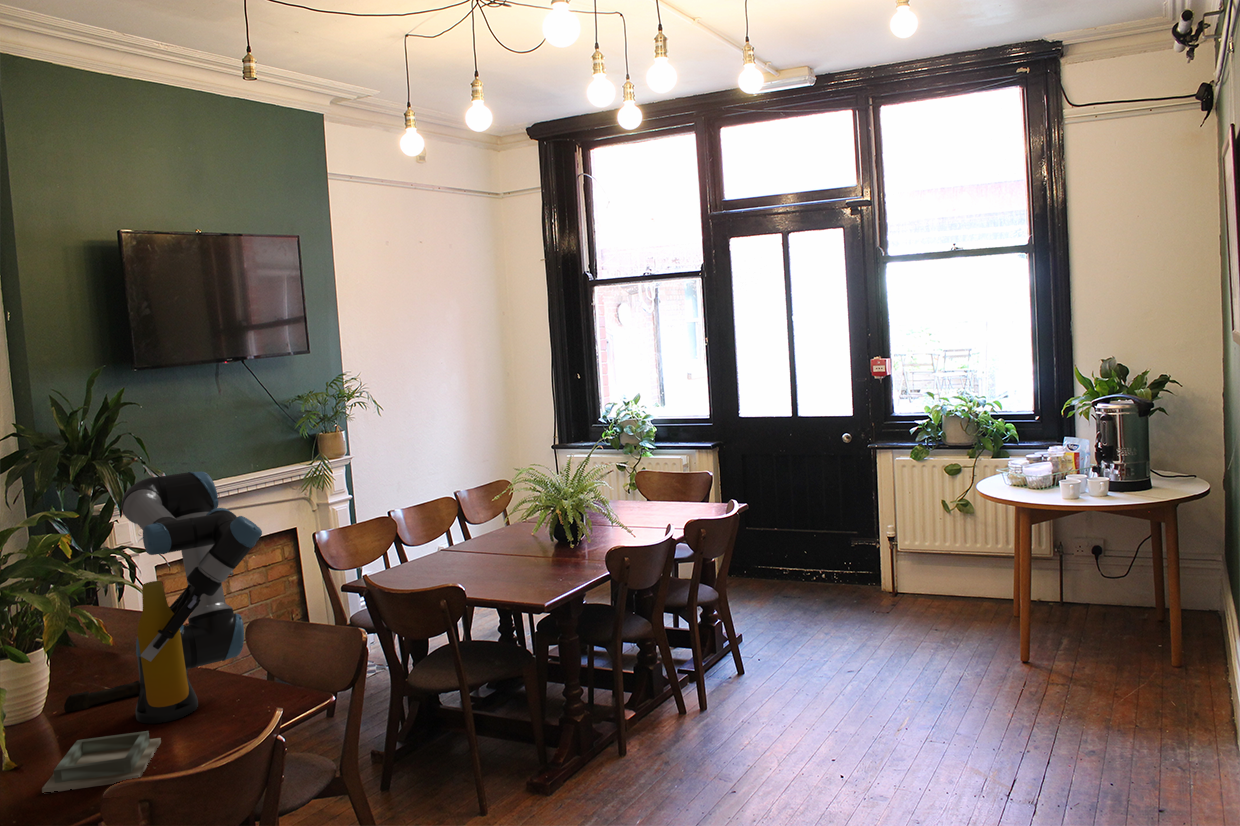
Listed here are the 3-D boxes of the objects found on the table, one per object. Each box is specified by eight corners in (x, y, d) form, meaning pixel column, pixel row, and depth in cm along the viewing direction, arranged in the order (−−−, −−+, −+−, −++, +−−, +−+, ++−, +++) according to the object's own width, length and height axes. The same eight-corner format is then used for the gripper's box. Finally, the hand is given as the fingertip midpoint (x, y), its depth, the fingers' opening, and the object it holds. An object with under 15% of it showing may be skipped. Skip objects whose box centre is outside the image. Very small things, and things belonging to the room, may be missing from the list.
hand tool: (140, 691, 271) (138, 676, 270) (142, 695, 268) (140, 679, 267) (64, 710, 260) (62, 694, 259) (65, 715, 257) (63, 698, 256)
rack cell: (72, 754, 231) (71, 737, 231) (161, 742, 236) (159, 726, 235) (42, 793, 212) (40, 775, 212) (139, 779, 216) (137, 762, 216)
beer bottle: (143, 700, 229) (126, 584, 225) (183, 688, 235) (167, 575, 231) (153, 711, 222) (135, 592, 218) (194, 698, 228) (177, 582, 224)
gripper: (224, 594, 221) (159, 675, 217) (221, 572, 241) (161, 645, 237) (197, 576, 218) (130, 658, 214) (196, 555, 238) (134, 630, 234)
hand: (146, 651), depth 225 cm, fingers closed on beer bottle, 9 cm apart
